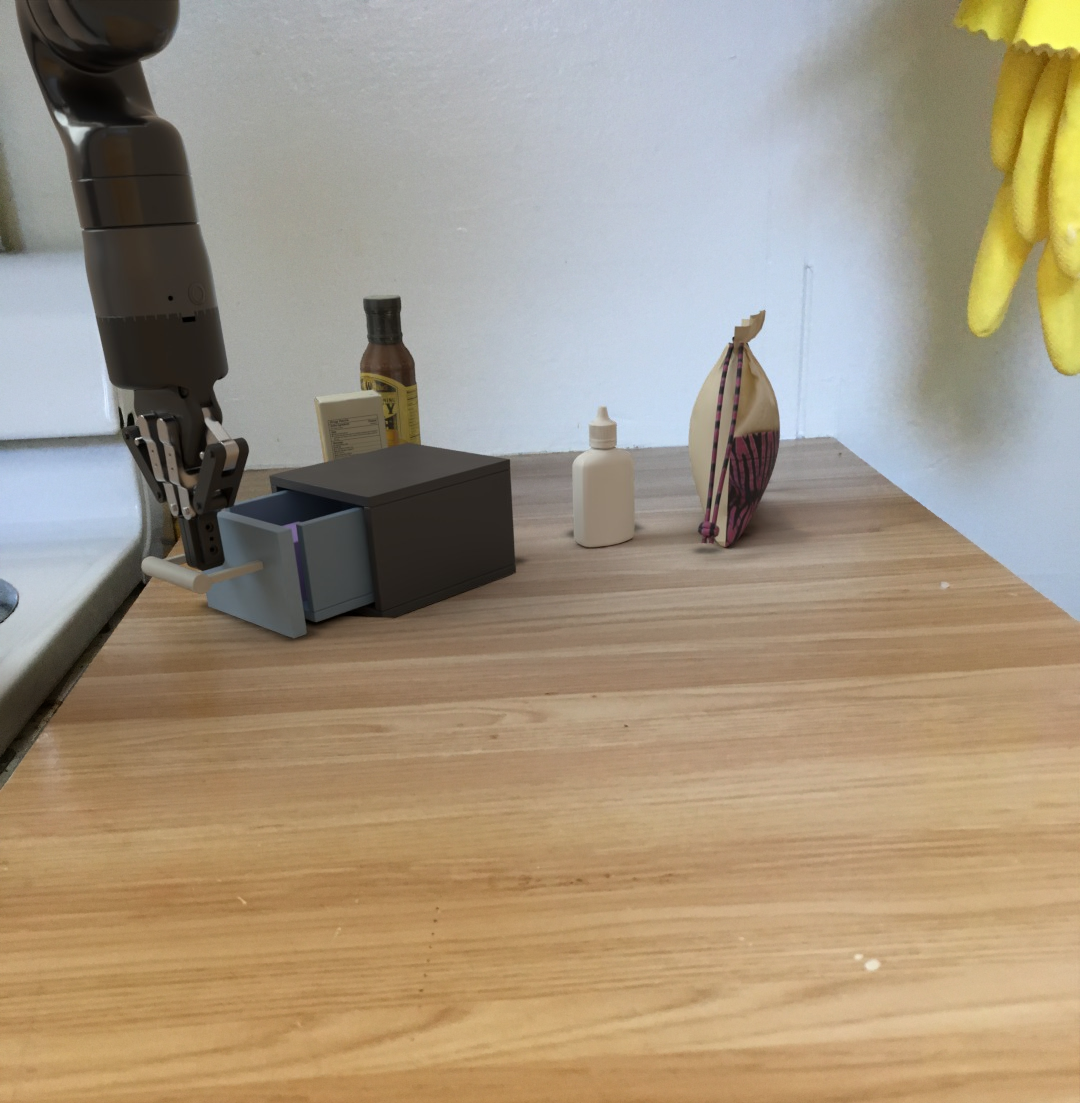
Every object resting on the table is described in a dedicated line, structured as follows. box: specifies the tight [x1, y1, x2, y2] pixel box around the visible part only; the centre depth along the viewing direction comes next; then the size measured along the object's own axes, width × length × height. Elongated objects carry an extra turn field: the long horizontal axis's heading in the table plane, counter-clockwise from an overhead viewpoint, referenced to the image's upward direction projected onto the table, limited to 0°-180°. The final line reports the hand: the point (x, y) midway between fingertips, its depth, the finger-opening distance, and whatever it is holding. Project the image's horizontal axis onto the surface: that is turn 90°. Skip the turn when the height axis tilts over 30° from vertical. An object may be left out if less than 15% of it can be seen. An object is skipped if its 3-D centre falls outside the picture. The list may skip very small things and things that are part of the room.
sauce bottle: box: [359, 294, 422, 447], centre depth 118 cm, size 6×6×20 cm
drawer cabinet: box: [268, 443, 517, 619], centre depth 87 cm, size 15×13×10 cm
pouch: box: [688, 309, 781, 548], centre depth 97 cm, size 25×8×19 cm, turn 168°
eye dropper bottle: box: [571, 405, 636, 548], centre depth 95 cm, size 4×6×12 cm
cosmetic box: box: [313, 390, 388, 463], centre depth 106 cm, size 6×4×12 cm
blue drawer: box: [140, 489, 375, 640], centre depth 80 cm, size 19×11×8 cm, turn 137°
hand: (207, 566), depth 75 cm, fingers closed
